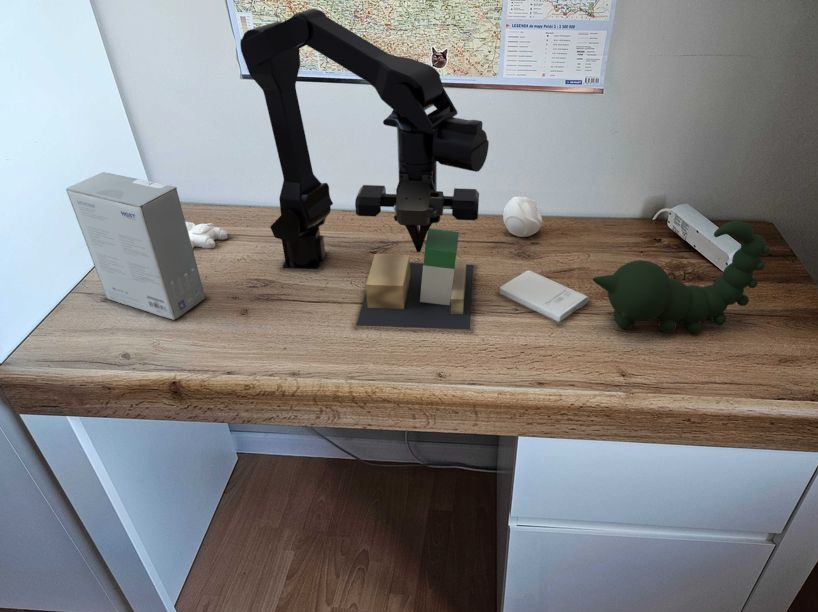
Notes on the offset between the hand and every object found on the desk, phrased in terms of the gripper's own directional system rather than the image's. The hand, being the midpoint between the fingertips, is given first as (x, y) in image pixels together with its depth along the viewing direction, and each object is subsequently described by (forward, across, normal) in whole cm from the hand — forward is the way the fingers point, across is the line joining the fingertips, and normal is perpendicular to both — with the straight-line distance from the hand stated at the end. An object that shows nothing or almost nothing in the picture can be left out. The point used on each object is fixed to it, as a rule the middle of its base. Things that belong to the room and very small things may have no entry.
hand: (419, 251), depth 108 cm
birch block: (+8, -5, 0) cm, 10 cm away
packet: (+7, 0, 0) cm, 7 cm away
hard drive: (+8, +21, 0) cm, 22 cm away
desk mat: (+8, 0, 0) cm, 9 cm away
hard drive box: (+9, -44, -4) cm, 45 cm away
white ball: (+8, +18, +23) cm, 30 cm away
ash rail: (+8, +7, 0) cm, 10 cm away
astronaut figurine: (+9, -45, +17) cm, 49 cm away
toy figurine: (+8, +40, -6) cm, 41 cm away
